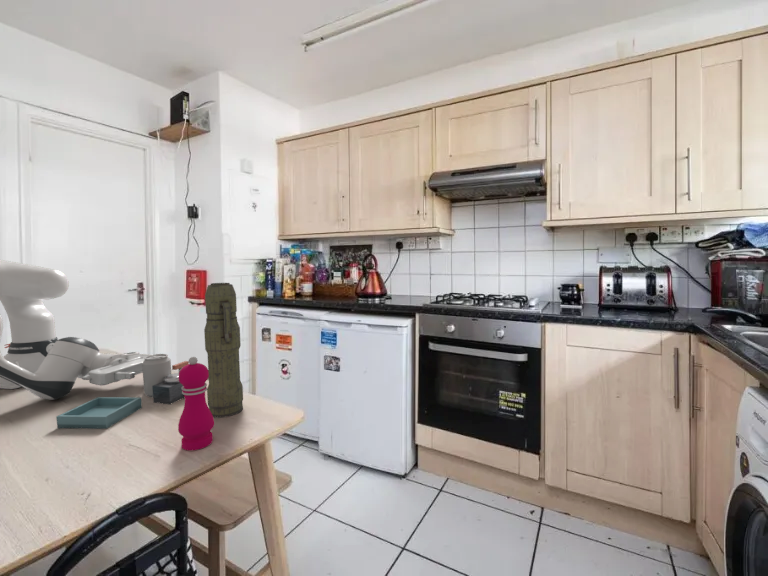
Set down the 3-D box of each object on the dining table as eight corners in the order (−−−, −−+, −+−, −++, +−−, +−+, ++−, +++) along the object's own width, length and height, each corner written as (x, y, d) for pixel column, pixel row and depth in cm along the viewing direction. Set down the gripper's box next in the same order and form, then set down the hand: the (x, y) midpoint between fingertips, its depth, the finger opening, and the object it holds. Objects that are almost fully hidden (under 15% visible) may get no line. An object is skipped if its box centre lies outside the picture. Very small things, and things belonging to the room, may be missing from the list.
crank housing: (152, 402, 108) (149, 368, 107) (184, 388, 119) (182, 357, 118) (171, 404, 106) (169, 369, 105) (202, 389, 117) (200, 358, 117)
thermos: (233, 400, 109) (228, 281, 106) (251, 412, 100) (245, 283, 97) (201, 409, 103) (194, 283, 100) (217, 422, 94) (210, 285, 91)
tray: (57, 428, 92) (56, 416, 92) (98, 407, 104) (97, 397, 104) (106, 428, 91) (105, 416, 91) (141, 407, 104) (141, 397, 104)
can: (159, 399, 110) (156, 359, 109) (138, 397, 112) (135, 358, 111) (178, 390, 117) (175, 353, 116) (157, 388, 119) (155, 352, 118)
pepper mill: (191, 455, 79) (186, 363, 77) (172, 446, 82) (167, 358, 81) (221, 441, 85) (217, 355, 83) (203, 433, 88) (198, 351, 87)
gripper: (77, 367, 108) (113, 371, 104) (140, 350, 128) (172, 353, 124) (78, 388, 109) (114, 392, 105) (141, 368, 128) (173, 371, 124)
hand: (146, 371), depth 115 cm, fingers open, 8 cm apart
